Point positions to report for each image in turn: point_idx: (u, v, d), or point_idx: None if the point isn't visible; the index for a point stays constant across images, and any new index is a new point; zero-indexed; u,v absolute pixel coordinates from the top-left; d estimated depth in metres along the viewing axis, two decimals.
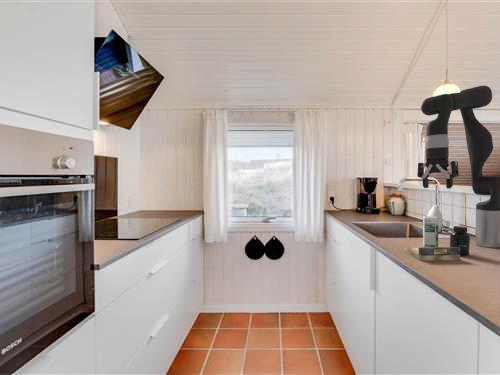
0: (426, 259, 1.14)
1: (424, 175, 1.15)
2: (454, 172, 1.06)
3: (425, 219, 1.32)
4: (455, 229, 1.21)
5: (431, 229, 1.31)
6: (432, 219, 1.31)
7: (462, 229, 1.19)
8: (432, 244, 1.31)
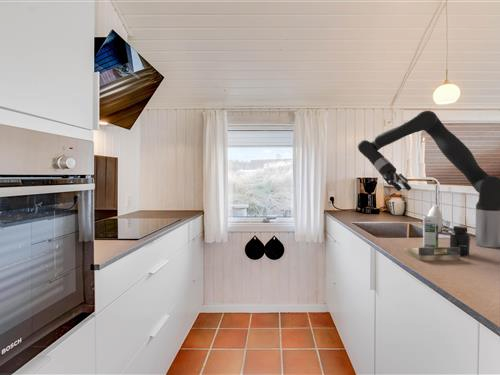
0: (426, 259, 1.14)
1: None
2: (387, 182, 1.44)
3: (425, 219, 1.33)
4: (455, 229, 1.21)
5: (431, 229, 1.31)
6: (432, 219, 1.31)
7: (462, 229, 1.19)
8: (432, 244, 1.31)
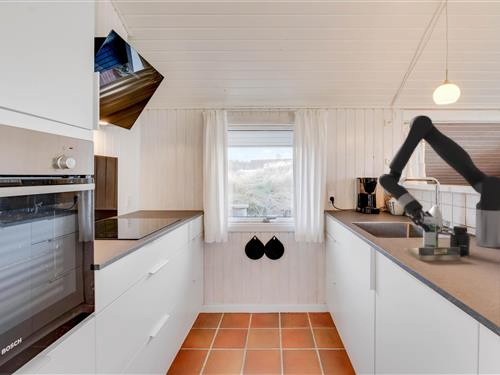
0: (426, 259, 1.14)
1: None
2: None
3: (425, 219, 1.32)
4: (455, 229, 1.21)
5: (431, 229, 1.31)
6: (432, 219, 1.31)
7: (462, 229, 1.19)
8: (432, 244, 1.31)
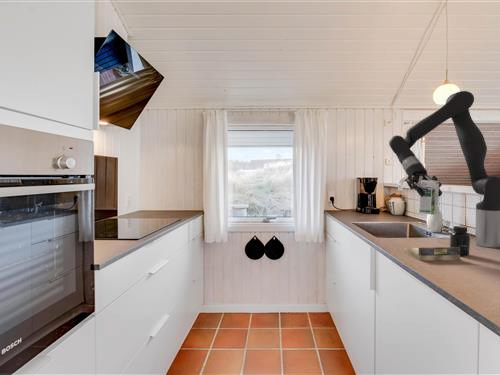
0: (426, 259, 1.14)
1: None
2: None
3: (421, 182, 1.23)
4: (455, 229, 1.21)
5: (427, 193, 1.21)
6: (428, 182, 1.21)
7: (462, 229, 1.19)
8: (427, 209, 1.22)
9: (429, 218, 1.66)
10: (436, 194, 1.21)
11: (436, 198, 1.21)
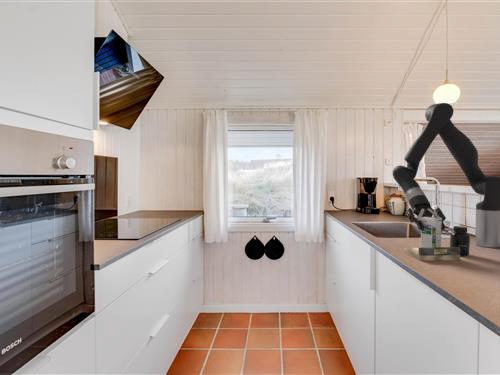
0: (426, 259, 1.14)
1: None
2: None
3: (422, 219, 1.20)
4: (455, 229, 1.21)
5: (428, 231, 1.18)
6: (429, 220, 1.18)
7: (462, 229, 1.19)
8: None
9: None
10: (438, 232, 1.17)
11: (438, 236, 1.17)
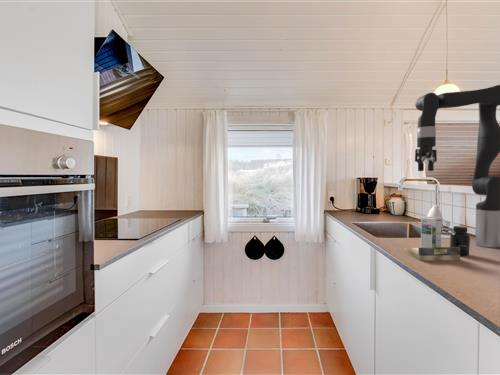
0: (426, 259, 1.14)
1: None
2: (415, 158, 1.33)
3: (422, 219, 1.20)
4: (455, 229, 1.21)
5: (428, 231, 1.18)
6: (429, 220, 1.18)
7: (462, 229, 1.19)
8: None
9: None
10: (438, 232, 1.17)
11: (438, 236, 1.17)
